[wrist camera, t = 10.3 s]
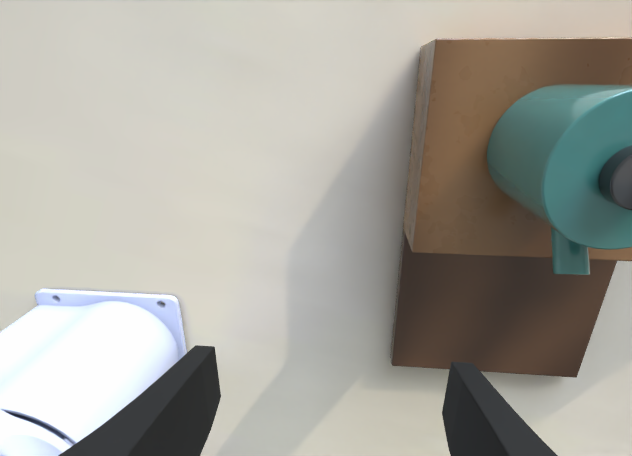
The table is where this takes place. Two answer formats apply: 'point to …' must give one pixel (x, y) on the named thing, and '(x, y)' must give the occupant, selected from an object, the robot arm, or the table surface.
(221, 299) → the table surface
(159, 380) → the robot arm
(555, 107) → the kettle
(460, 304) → the tier stand
